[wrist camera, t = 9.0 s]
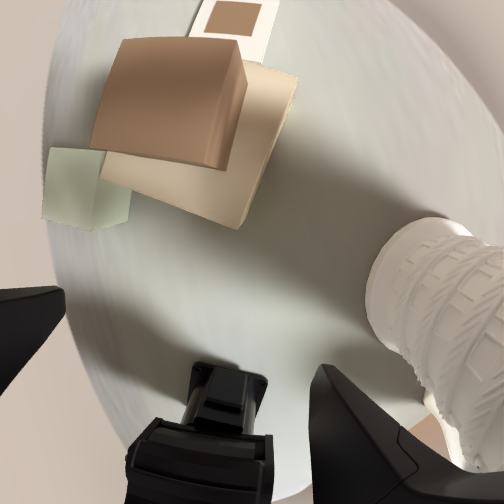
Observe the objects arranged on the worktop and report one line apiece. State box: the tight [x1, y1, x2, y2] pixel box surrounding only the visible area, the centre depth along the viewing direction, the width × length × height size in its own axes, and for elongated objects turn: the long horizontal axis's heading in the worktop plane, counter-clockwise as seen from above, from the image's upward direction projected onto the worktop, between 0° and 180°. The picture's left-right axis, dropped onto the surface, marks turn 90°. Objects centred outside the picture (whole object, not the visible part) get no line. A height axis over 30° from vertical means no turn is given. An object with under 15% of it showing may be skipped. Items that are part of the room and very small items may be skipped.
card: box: [188, 0, 280, 65], centre depth 15 cm, size 8×6×1 cm
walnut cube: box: [89, 37, 248, 172], centre depth 11 cm, size 5×5×5 cm
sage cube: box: [42, 147, 132, 232], centre depth 17 cm, size 5×5×5 cm
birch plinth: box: [99, 60, 298, 230], centre depth 16 cm, size 9×9×5 cm
